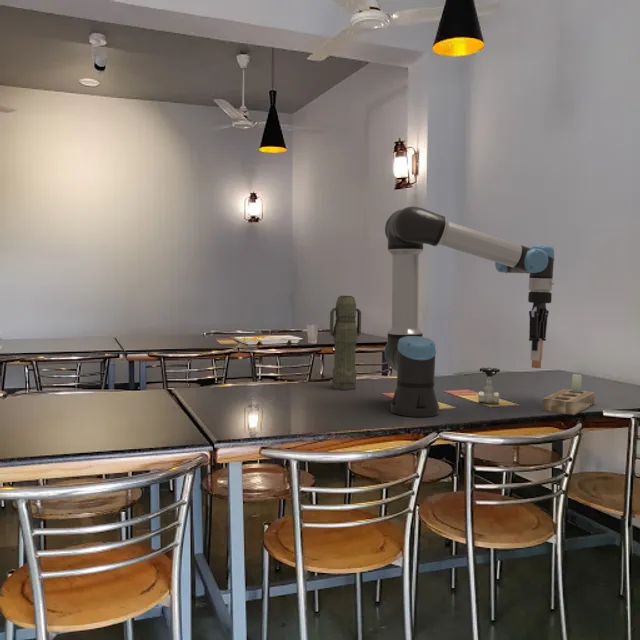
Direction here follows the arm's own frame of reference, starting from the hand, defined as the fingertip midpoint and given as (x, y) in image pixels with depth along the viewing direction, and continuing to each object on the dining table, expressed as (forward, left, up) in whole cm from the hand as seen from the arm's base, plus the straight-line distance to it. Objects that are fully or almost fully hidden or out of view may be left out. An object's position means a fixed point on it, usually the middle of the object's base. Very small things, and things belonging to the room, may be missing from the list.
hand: (536, 359), depth 218 cm
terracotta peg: (0, 0, -3) cm, 3 cm away
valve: (-12, -12, -15) cm, 23 cm away
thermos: (-65, -22, -15) cm, 70 cm away
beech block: (+11, +1, -15) cm, 19 cm away
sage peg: (+11, +9, -15) cm, 21 cm away
